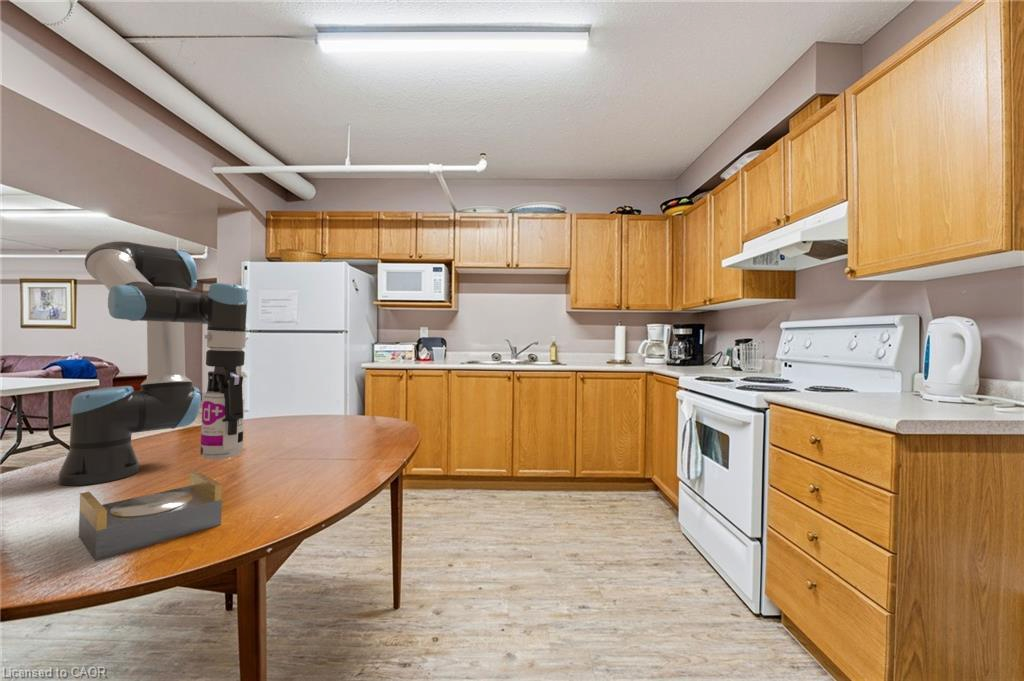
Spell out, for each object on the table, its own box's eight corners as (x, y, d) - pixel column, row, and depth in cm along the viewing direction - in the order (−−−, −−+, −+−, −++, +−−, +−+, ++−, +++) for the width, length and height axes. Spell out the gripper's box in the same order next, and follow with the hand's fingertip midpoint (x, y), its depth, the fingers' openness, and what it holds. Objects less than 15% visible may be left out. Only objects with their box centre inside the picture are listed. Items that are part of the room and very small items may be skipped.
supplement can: (221, 461, 94) (223, 395, 94) (190, 457, 95) (193, 392, 95) (250, 452, 102) (252, 390, 102) (222, 448, 103) (224, 388, 103)
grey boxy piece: (78, 536, 77) (80, 493, 77) (195, 507, 91) (196, 470, 91) (95, 561, 69) (96, 512, 69) (220, 524, 83) (222, 484, 83)
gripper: (191, 347, 101) (187, 439, 102) (225, 351, 89) (221, 457, 89) (226, 347, 108) (222, 434, 108) (263, 351, 95) (259, 450, 95)
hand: (222, 444), depth 98 cm, fingers closed on supplement can, 8 cm apart
